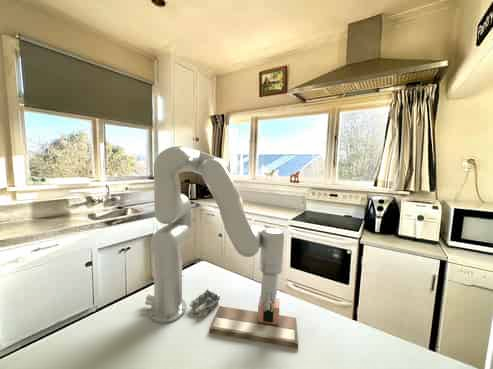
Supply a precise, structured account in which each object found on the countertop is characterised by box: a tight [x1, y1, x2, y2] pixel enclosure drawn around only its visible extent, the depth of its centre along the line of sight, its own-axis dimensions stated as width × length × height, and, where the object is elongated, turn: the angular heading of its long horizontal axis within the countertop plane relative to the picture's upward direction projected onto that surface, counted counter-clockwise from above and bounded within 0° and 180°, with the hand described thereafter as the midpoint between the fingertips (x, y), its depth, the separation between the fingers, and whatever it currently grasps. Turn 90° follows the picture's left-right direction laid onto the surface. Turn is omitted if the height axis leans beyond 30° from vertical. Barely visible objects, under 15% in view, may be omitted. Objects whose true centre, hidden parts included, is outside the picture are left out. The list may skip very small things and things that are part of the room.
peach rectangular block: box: [257, 295, 281, 325], centre depth 74 cm, size 7×5×6 cm
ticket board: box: [208, 305, 299, 349], centre depth 72 cm, size 28×11×2 cm, turn 80°
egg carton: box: [189, 289, 221, 318], centre depth 81 cm, size 11×8×4 cm
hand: (268, 314), depth 74 cm, fingers closed on peach rectangular block, 5 cm apart
